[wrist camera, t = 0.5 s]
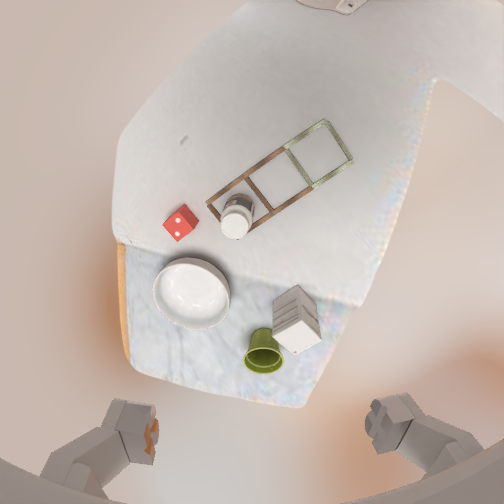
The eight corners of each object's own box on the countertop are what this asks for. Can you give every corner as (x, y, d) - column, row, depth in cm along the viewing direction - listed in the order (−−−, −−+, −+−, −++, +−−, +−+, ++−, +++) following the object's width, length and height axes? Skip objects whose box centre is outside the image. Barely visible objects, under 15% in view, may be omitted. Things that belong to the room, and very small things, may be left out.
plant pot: (285, 324, 71) (286, 349, 63) (280, 350, 75) (280, 375, 68) (247, 320, 71) (244, 345, 64) (245, 347, 76) (241, 372, 68)
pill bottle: (220, 202, 58) (210, 220, 49) (245, 188, 56) (239, 204, 48) (235, 225, 60) (229, 247, 51) (260, 212, 58) (257, 232, 50)
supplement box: (316, 303, 68) (323, 341, 56) (291, 319, 70) (293, 357, 59) (298, 282, 65) (302, 319, 54) (271, 299, 68) (271, 337, 57)
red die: (184, 204, 59) (178, 211, 55) (199, 220, 60) (193, 229, 56) (169, 216, 60) (162, 225, 56) (183, 232, 62) (177, 242, 57)
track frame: (325, 117, 49) (326, 117, 49) (354, 161, 52) (355, 162, 52) (205, 202, 58) (204, 203, 58) (236, 239, 62) (235, 240, 61)
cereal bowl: (245, 301, 69) (242, 320, 62) (183, 317, 72) (176, 336, 66) (213, 237, 62) (206, 253, 55) (149, 261, 66) (138, 277, 59)
